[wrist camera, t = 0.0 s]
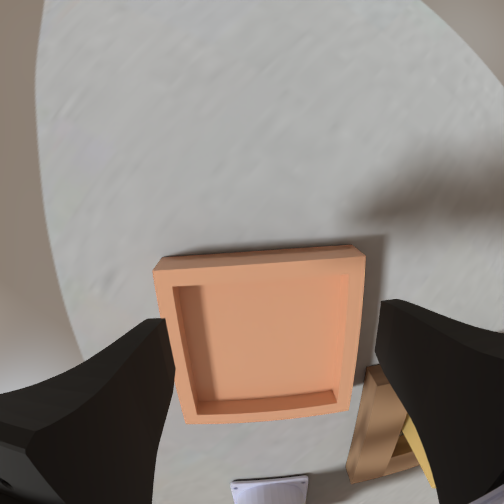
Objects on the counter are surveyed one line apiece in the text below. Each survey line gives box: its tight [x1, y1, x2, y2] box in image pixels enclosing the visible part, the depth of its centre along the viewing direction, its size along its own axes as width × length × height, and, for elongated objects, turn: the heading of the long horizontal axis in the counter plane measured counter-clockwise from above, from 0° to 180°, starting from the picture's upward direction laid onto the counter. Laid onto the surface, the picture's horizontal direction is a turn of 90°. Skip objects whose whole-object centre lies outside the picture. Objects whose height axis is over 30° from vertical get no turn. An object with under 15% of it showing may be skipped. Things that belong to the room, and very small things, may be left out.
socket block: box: [346, 365, 420, 484], centre depth 24 cm, size 14×14×2 cm
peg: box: [402, 413, 436, 488], centre depth 21 cm, size 4×4×9 cm
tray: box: [152, 244, 366, 424], centre depth 20 cm, size 12×12×2 cm
